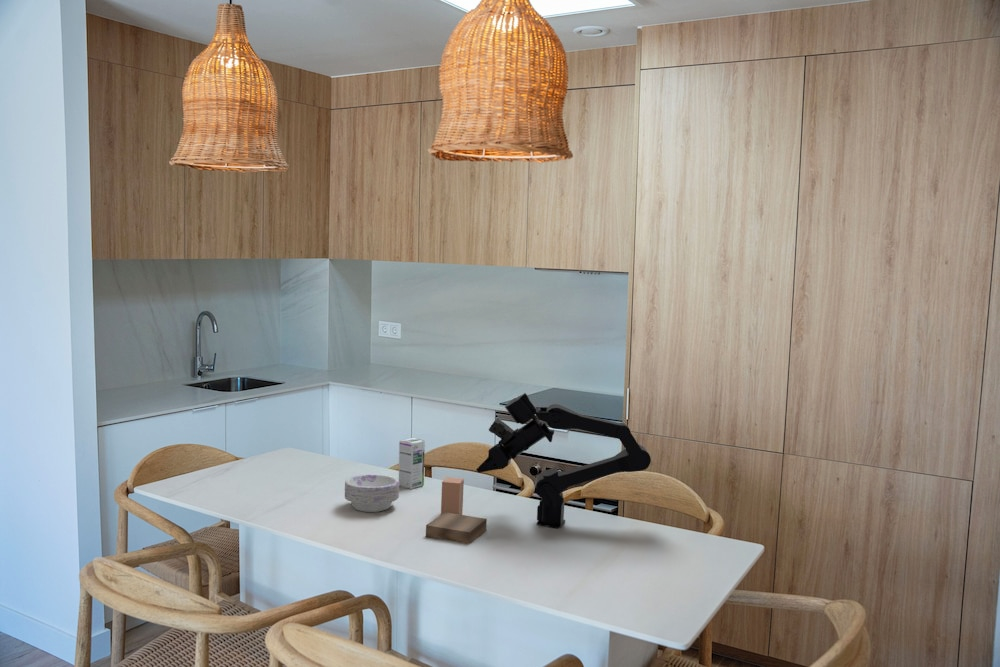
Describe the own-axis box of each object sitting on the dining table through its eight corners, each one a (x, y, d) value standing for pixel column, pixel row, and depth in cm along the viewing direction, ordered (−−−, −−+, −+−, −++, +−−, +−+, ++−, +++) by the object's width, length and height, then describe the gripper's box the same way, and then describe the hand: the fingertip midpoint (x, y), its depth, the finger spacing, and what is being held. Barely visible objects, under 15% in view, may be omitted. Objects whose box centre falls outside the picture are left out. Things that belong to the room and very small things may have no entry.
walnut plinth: (486, 529, 215) (486, 518, 215) (469, 543, 204) (469, 532, 204) (444, 523, 219) (445, 512, 219) (425, 536, 208) (426, 525, 208)
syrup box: (411, 489, 250) (413, 443, 248) (397, 485, 253) (399, 439, 252) (424, 485, 254) (425, 440, 253) (410, 482, 258) (411, 437, 256)
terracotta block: (462, 513, 228) (463, 478, 227) (458, 519, 223) (459, 483, 222) (445, 511, 229) (446, 477, 228) (440, 517, 224) (442, 481, 223)
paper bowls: (371, 496, 241) (371, 470, 240) (409, 507, 232) (410, 479, 231) (332, 508, 228) (333, 480, 228) (371, 519, 220) (372, 490, 219)
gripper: (516, 407, 231) (472, 437, 234) (502, 417, 213) (455, 449, 216) (538, 439, 230) (494, 469, 233) (527, 452, 212) (479, 484, 215)
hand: (481, 467), depth 224 cm, fingers open, 9 cm apart
